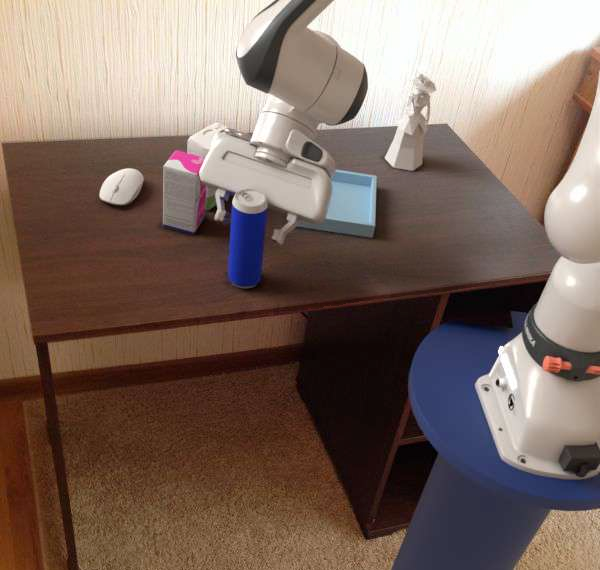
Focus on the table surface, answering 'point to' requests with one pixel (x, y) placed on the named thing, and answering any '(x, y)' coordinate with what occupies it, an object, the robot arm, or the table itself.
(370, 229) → the tray
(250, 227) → the beverage can
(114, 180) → the computer mouse
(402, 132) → the figurine
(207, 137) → the ink box
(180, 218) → the supplement box
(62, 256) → the table surface
